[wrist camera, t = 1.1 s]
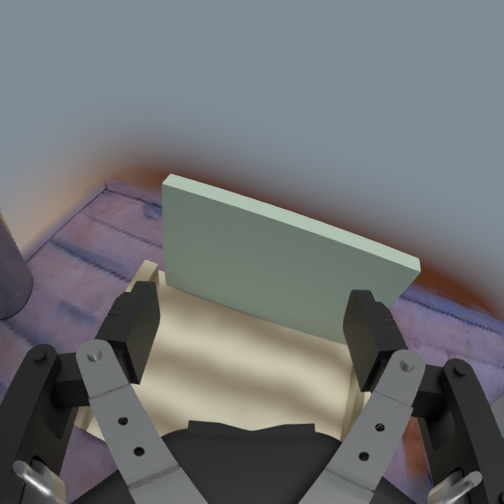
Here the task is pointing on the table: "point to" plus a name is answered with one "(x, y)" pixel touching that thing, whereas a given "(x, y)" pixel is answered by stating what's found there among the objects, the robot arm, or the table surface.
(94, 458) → the table surface
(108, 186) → the table surface
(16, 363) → the table surface
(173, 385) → the cart bed
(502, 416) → the coffee cup
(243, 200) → the panel
